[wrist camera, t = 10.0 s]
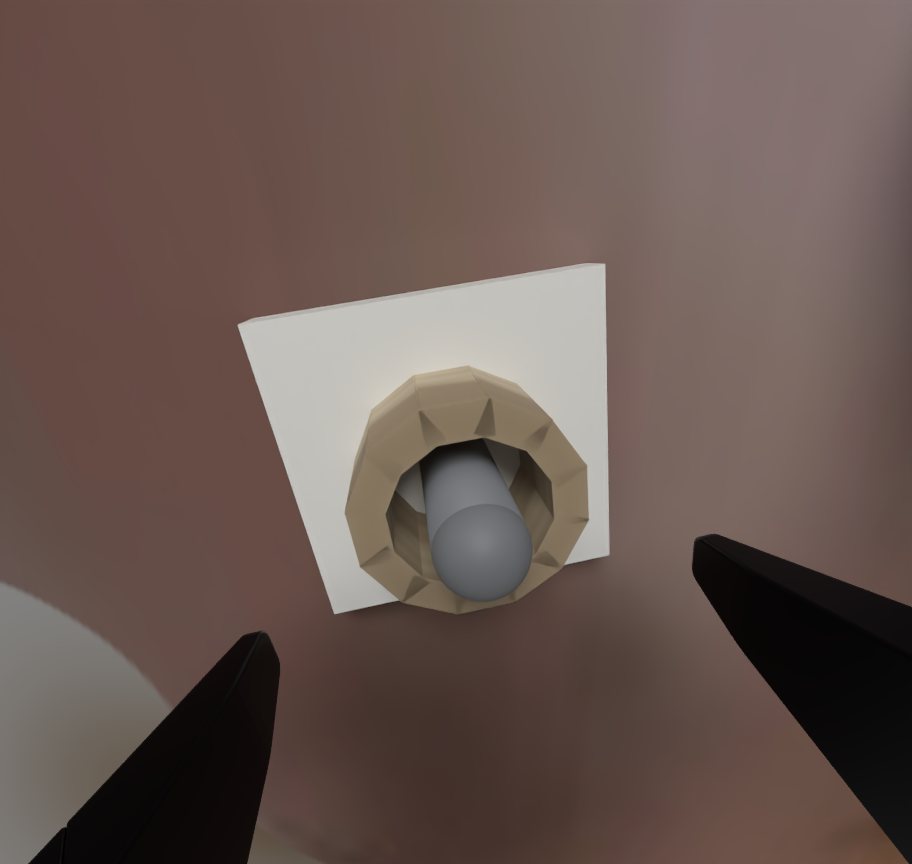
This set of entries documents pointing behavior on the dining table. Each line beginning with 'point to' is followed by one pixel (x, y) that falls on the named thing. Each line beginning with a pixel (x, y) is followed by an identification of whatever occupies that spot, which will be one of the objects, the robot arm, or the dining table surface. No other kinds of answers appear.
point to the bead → (445, 422)
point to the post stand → (447, 466)
